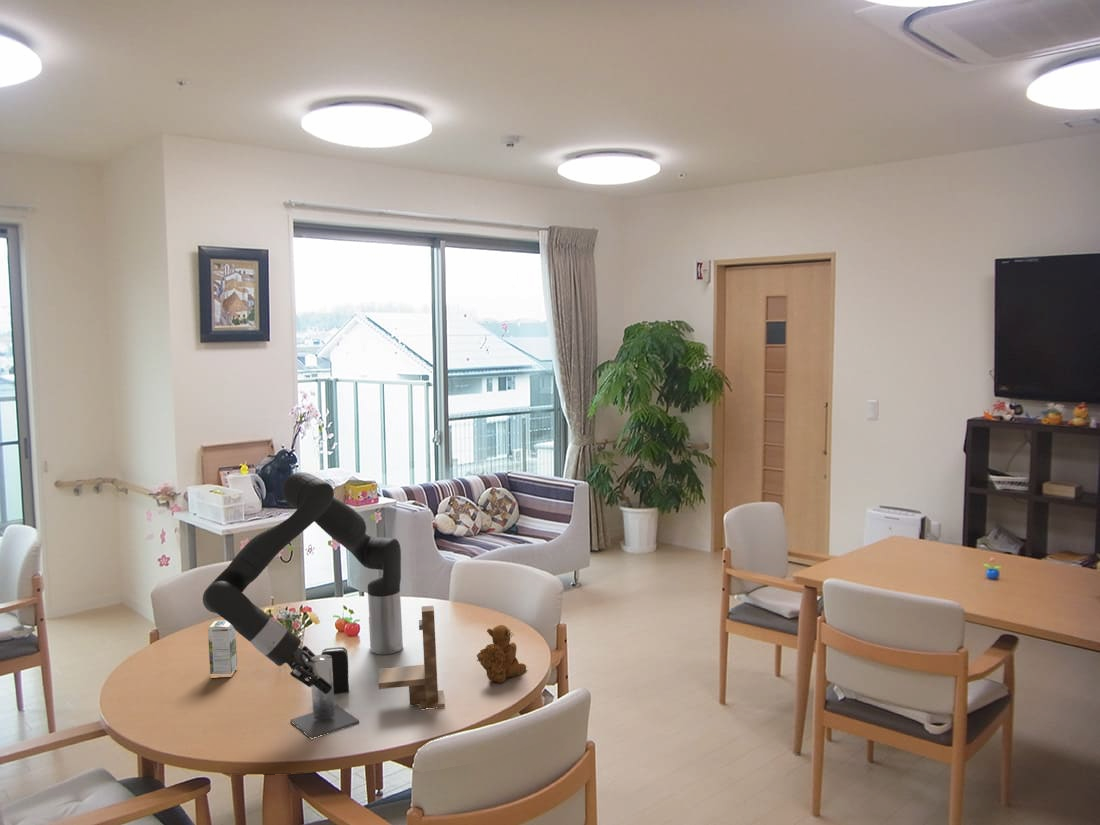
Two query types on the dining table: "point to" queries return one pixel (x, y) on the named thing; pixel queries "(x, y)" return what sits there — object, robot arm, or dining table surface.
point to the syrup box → (222, 647)
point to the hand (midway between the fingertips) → (330, 685)
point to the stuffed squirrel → (500, 656)
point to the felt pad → (325, 723)
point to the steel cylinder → (320, 701)
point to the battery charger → (339, 668)
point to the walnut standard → (419, 670)
